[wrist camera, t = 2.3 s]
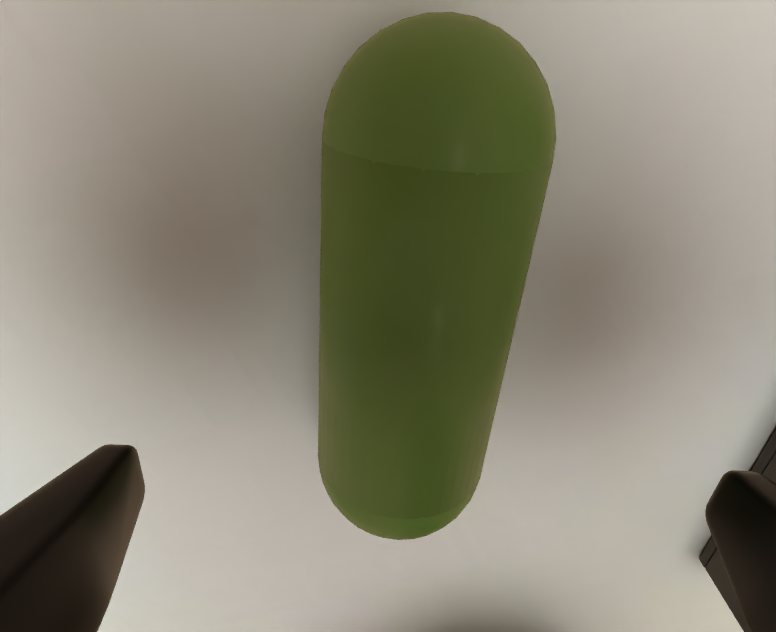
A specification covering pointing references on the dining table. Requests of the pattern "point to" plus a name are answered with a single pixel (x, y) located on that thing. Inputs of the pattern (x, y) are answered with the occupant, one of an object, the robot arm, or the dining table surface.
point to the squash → (423, 262)
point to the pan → (769, 464)
